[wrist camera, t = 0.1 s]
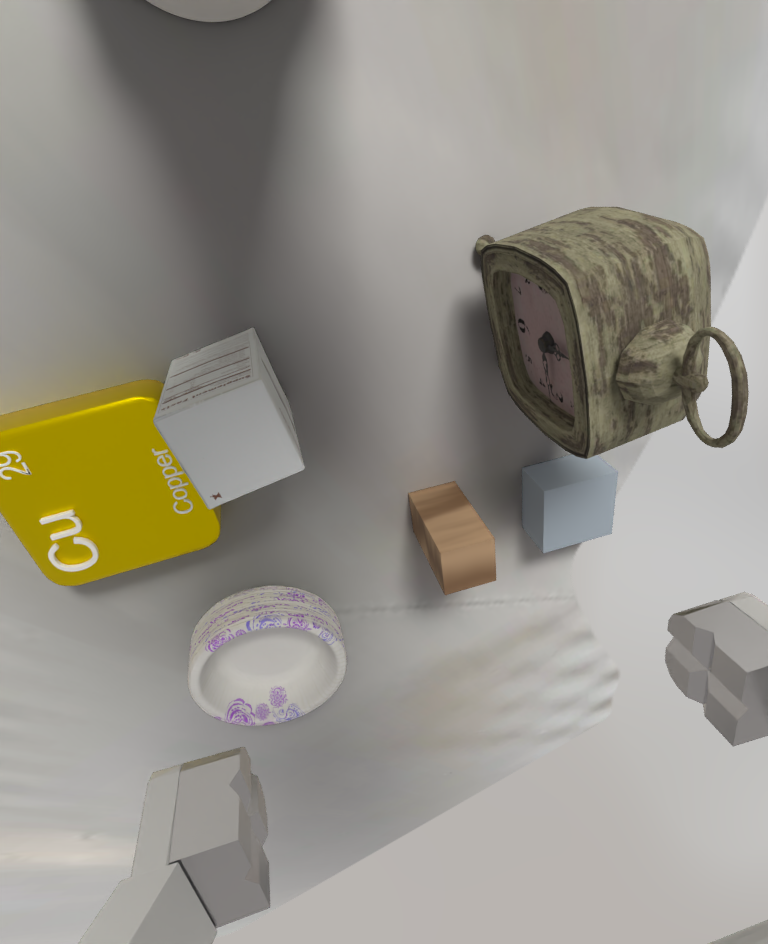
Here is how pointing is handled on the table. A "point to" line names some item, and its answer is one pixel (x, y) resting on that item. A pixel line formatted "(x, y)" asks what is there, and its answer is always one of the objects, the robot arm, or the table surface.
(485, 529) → the walnut pillar
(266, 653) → the paper bowls
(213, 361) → the supplement box
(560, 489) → the slate block
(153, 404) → the element tile
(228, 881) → the robot arm
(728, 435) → the tabletop clock
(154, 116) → the table surface
